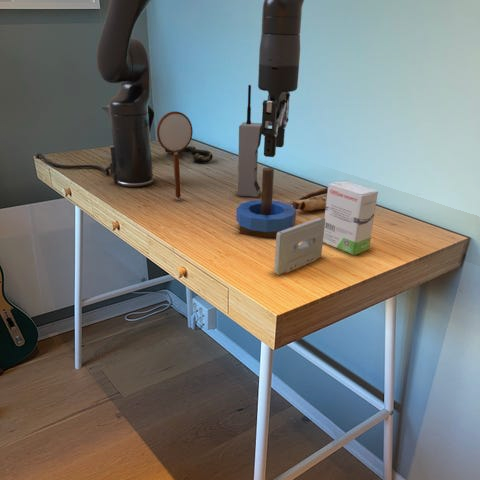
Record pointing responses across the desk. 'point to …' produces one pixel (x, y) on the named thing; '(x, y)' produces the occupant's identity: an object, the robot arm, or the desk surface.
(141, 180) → the robot arm
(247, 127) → the vintage mobile phone
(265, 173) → the peg stand
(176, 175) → the magnifying glass
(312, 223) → the cassette
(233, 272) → the desk surface
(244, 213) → the tape roll
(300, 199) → the lashed bone hook
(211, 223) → the desk surface
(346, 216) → the ink box
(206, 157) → the rubber snake
